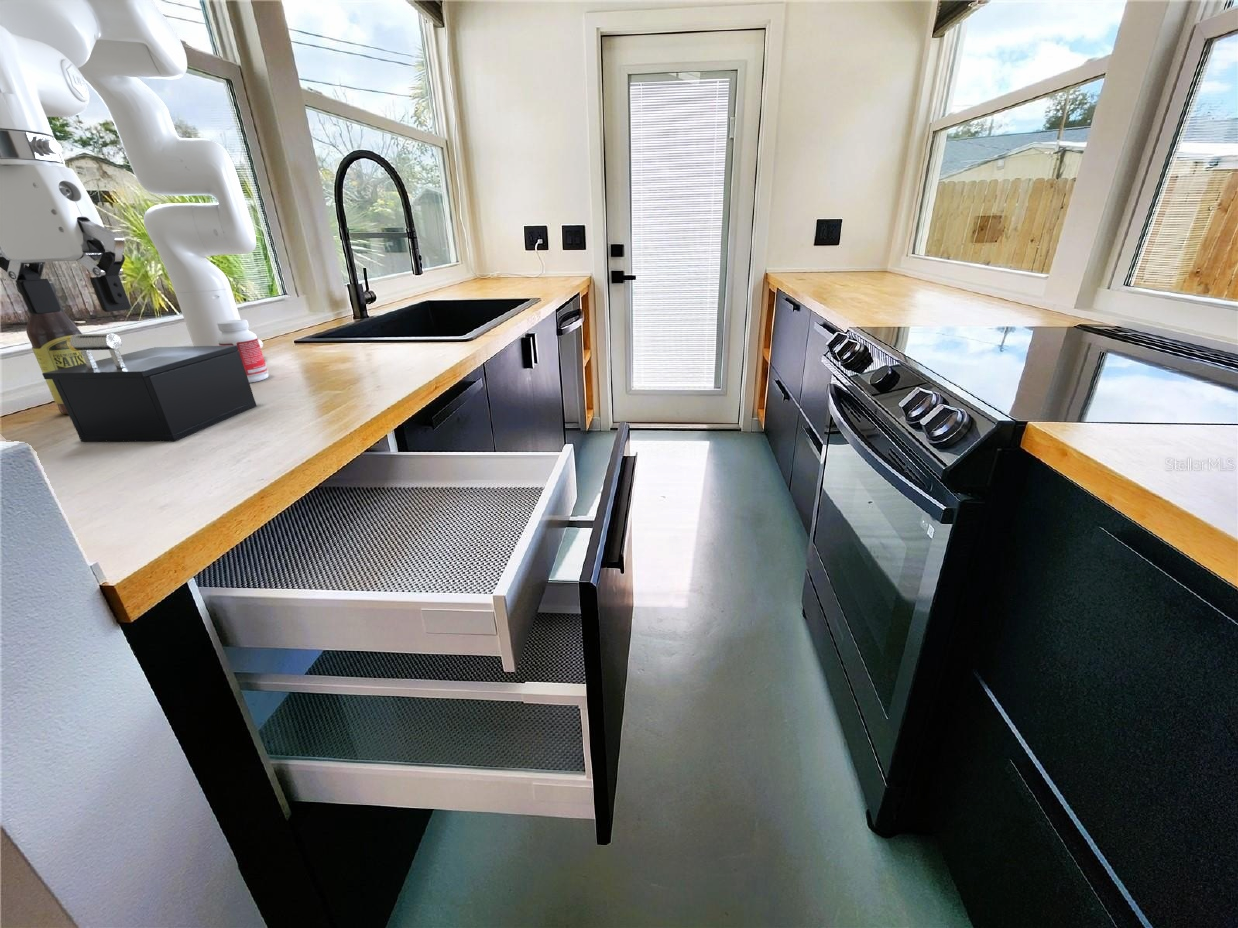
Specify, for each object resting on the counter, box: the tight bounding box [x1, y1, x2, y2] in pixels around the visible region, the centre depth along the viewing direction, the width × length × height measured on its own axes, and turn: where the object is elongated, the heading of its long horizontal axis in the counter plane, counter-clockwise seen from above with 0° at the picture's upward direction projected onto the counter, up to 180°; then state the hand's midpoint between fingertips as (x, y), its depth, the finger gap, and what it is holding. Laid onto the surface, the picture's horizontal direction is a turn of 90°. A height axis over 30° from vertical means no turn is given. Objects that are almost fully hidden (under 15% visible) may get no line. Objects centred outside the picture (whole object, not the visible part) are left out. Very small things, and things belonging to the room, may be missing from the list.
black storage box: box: [52, 351, 257, 443], centre depth 78 cm, size 16×14×9 cm
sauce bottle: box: [15, 281, 86, 415], centre depth 84 cm, size 6×6×20 cm
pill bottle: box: [217, 318, 270, 384], centre depth 101 cm, size 6×6×11 cm
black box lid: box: [41, 333, 239, 380], centre depth 74 cm, size 17×14×5 cm
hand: (82, 311), depth 66 cm, fingers open, 9 cm apart
